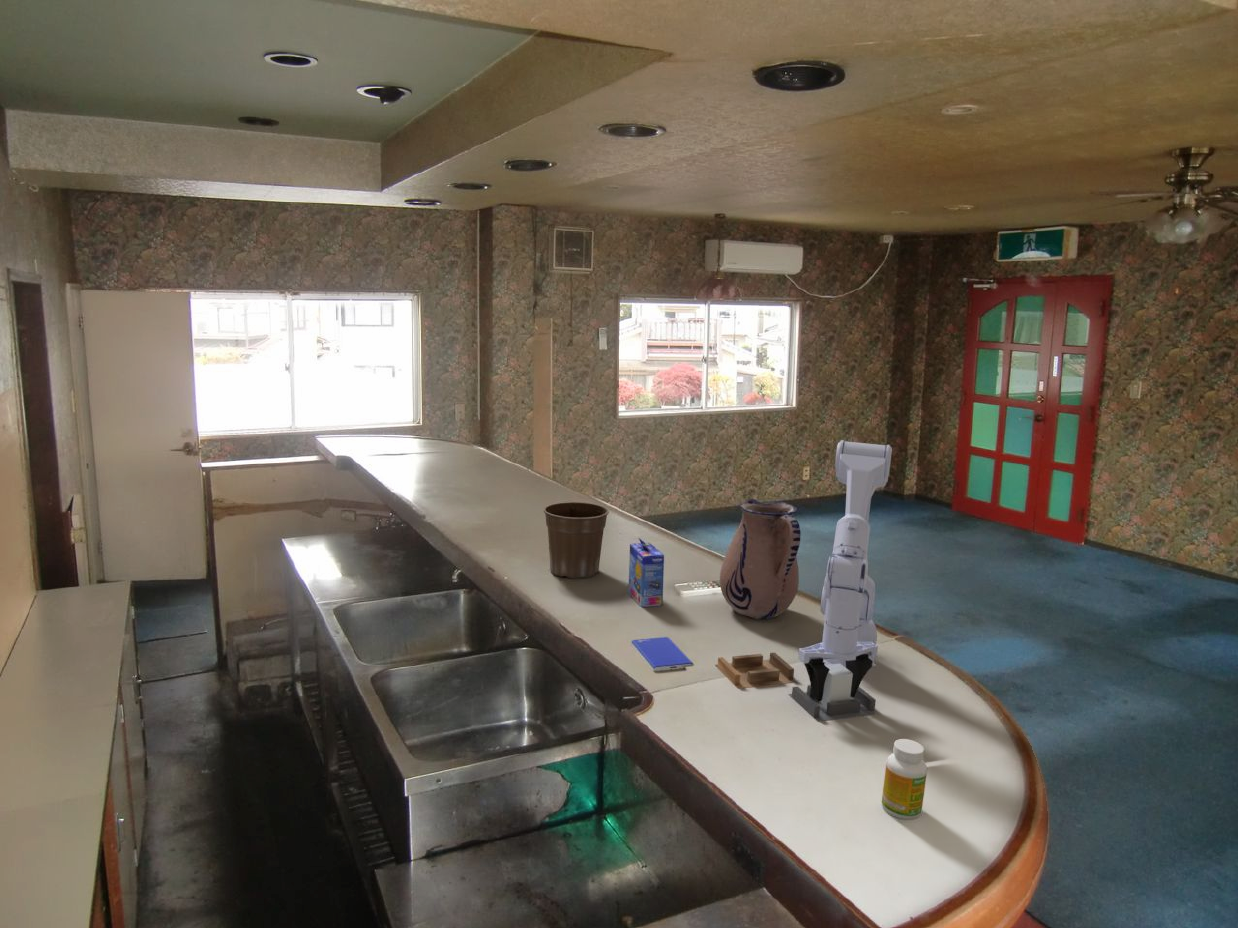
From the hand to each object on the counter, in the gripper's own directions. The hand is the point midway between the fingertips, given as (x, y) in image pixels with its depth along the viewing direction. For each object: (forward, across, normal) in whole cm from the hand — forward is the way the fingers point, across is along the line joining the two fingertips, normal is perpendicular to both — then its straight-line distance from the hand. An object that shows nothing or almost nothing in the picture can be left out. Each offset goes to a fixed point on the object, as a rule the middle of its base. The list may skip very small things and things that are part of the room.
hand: (833, 696), depth 148 cm
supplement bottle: (+2, -7, -29) cm, 30 cm away
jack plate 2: (+2, 0, 0) cm, 2 cm away
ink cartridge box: (+2, -15, +56) cm, 58 cm away
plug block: (+1, 0, 0) cm, 1 cm away
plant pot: (+2, -26, +78) cm, 82 cm away
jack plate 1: (+2, -8, +14) cm, 16 cm away
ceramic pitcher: (+2, +8, +42) cm, 43 cm away
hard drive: (+3, -22, +26) cm, 34 cm away
